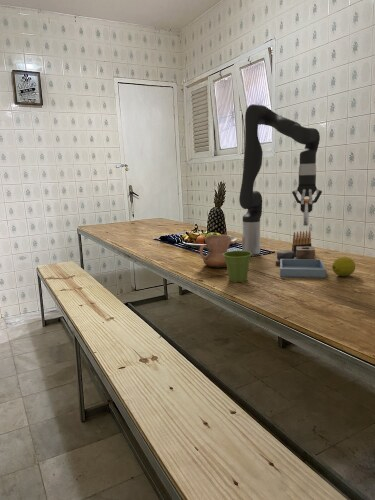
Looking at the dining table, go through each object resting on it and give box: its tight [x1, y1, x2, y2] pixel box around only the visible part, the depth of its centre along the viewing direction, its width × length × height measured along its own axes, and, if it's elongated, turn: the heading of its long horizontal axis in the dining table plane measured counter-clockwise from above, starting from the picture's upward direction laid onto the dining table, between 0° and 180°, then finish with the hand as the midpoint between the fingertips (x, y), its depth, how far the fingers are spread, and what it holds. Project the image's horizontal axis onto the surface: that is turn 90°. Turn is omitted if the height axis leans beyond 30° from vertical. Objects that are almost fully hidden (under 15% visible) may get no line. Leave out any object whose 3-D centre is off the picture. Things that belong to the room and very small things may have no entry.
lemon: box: [331, 256, 356, 277], centre depth 156 cm, size 11×8×8 cm
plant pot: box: [223, 250, 253, 283], centre depth 156 cm, size 12×12×11 cm
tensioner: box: [275, 246, 316, 266], centre depth 181 cm, size 18×12×7 cm, turn 77°
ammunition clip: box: [291, 230, 312, 254], centre depth 199 cm, size 11×2×12 cm, turn 105°
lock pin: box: [302, 198, 310, 227], centre depth 176 cm, size 3×3×12 cm
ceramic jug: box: [199, 234, 235, 269], centre depth 181 cm, size 18×14×14 cm
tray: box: [279, 258, 327, 279], centre depth 166 cm, size 18×18×4 cm
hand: (306, 212), depth 176 cm, fingers closed on lock pin, 2 cm apart
